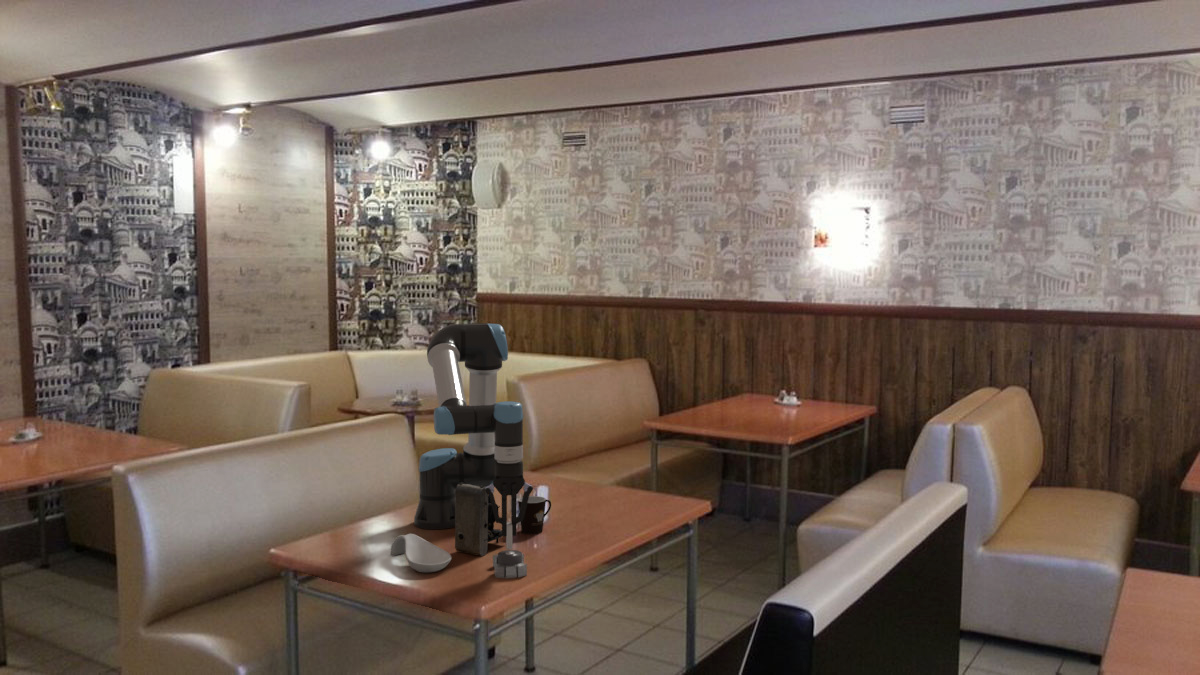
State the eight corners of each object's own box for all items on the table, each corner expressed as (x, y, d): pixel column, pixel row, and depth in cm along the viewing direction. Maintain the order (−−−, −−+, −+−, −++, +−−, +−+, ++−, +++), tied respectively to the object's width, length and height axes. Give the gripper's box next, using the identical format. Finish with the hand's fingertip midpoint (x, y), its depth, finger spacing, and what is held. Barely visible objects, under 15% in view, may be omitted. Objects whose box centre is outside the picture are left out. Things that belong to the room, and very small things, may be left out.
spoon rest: (459, 570, 243) (459, 544, 243) (421, 580, 236) (420, 553, 235) (414, 550, 261) (414, 526, 261) (377, 559, 253) (376, 534, 253)
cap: (497, 568, 244) (497, 549, 244) (521, 567, 245) (521, 548, 245) (498, 576, 238) (498, 557, 237) (522, 575, 239) (523, 556, 238)
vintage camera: (513, 545, 267) (513, 478, 266) (480, 557, 254) (480, 486, 253) (487, 541, 272) (487, 475, 271) (453, 552, 258) (453, 483, 258)
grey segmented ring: (492, 564, 247) (492, 553, 247) (523, 563, 249) (523, 552, 249) (495, 579, 236) (495, 567, 235) (527, 577, 237) (527, 566, 237)
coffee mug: (522, 536, 274) (522, 503, 274) (514, 529, 282) (514, 497, 282) (559, 532, 279) (559, 500, 278) (550, 525, 287) (550, 494, 286)
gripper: (484, 464, 236) (485, 553, 237) (534, 462, 238) (535, 550, 239) (483, 458, 243) (484, 544, 245) (532, 456, 245) (532, 542, 247)
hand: (509, 547), depth 242 cm, fingers closed
